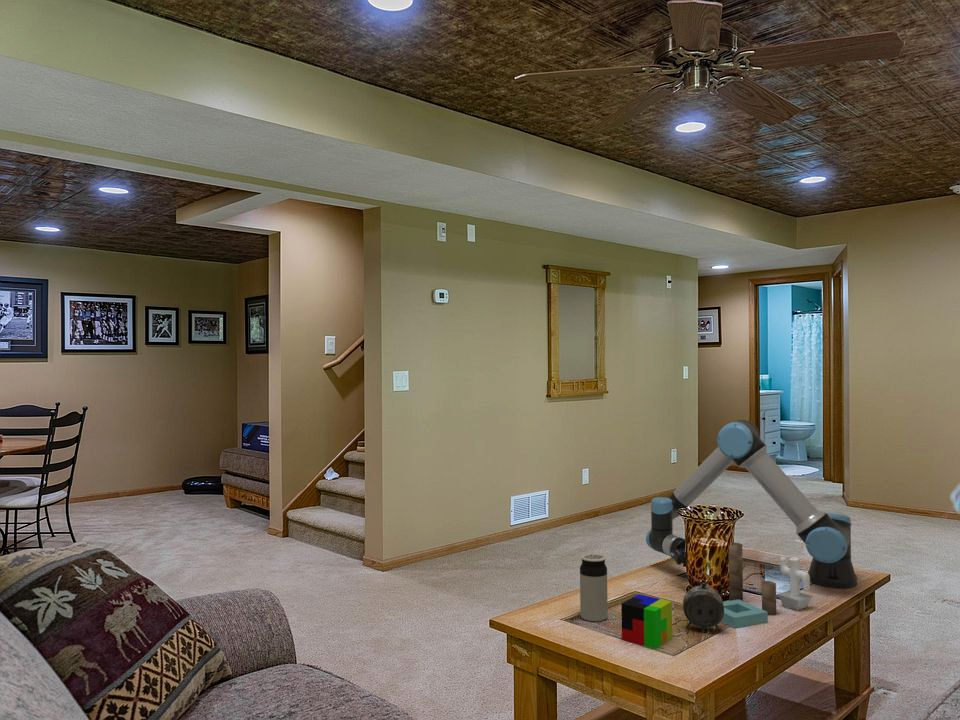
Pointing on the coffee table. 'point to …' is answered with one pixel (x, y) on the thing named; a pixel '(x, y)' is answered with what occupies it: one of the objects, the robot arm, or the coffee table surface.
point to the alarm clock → (703, 606)
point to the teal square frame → (742, 614)
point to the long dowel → (735, 572)
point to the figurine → (794, 584)
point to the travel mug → (593, 588)
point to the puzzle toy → (646, 621)
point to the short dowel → (769, 597)
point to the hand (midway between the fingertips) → (718, 563)
